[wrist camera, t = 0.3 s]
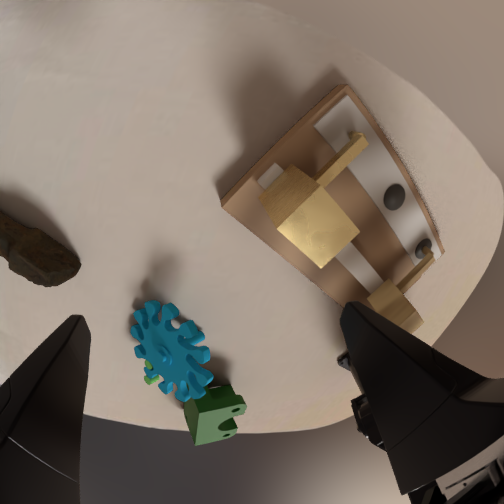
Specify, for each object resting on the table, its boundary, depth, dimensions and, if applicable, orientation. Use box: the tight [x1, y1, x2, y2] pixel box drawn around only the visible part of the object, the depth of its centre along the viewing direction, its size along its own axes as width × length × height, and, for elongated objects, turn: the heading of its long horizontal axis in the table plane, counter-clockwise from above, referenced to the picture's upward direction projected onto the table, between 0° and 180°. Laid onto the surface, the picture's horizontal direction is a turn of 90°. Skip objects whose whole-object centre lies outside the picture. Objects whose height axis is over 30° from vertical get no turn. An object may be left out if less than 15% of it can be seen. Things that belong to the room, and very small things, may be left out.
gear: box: [131, 300, 214, 402], centre depth 25 cm, size 11×6×10 cm
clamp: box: [184, 379, 247, 446], centre depth 32 cm, size 12×6×9 cm, turn 162°
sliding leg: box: [258, 131, 369, 268], centre depth 17 cm, size 4×8×6 cm, turn 135°
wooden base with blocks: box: [220, 85, 445, 334], centre depth 21 cm, size 22×13×8 cm, turn 45°
